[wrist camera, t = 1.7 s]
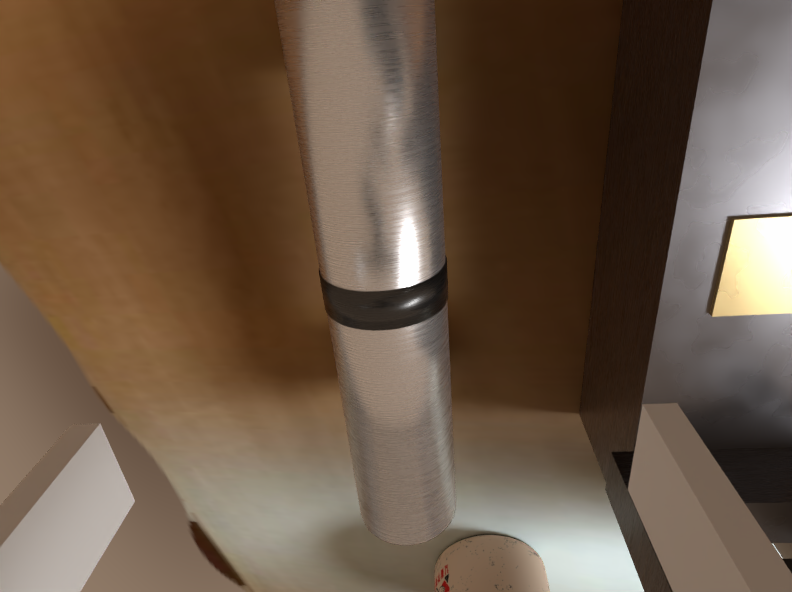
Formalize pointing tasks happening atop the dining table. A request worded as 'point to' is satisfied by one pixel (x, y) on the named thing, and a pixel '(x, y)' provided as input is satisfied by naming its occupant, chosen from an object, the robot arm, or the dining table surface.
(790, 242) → the grey cradle stand
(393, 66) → the tube
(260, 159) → the dining table surface
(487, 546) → the teacup with lid
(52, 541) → the robot arm
